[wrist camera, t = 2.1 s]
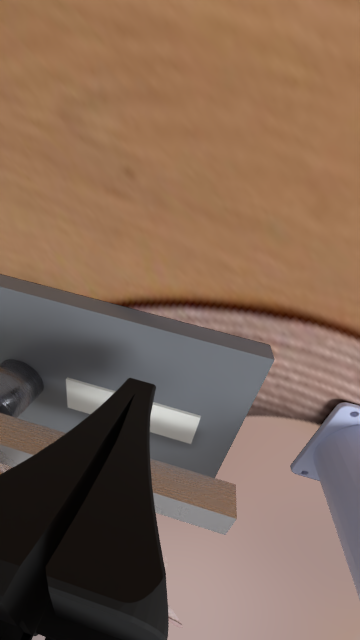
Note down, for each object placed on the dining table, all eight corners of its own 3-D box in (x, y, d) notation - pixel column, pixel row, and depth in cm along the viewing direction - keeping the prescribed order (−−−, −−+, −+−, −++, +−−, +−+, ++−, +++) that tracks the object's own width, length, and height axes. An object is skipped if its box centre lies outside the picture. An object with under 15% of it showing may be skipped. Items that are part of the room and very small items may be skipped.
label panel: (270, 345, 14) (275, 362, 13) (208, 474, 21) (207, 494, 20) (-11, 271, 15) (-36, 278, 14) (21, 417, 23) (6, 432, 21)
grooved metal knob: (54, 354, 18) (6, 398, 14) (57, 387, 20) (15, 434, 16) (12, 342, 18) (-48, 382, 14) (19, 376, 20) (-33, 419, 16)
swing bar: (237, 477, 13) (239, 525, 11) (223, 500, 14) (223, 547, 12) (-45, 391, 14) (-87, 422, 12) (-33, 421, 15) (-70, 452, 14)
